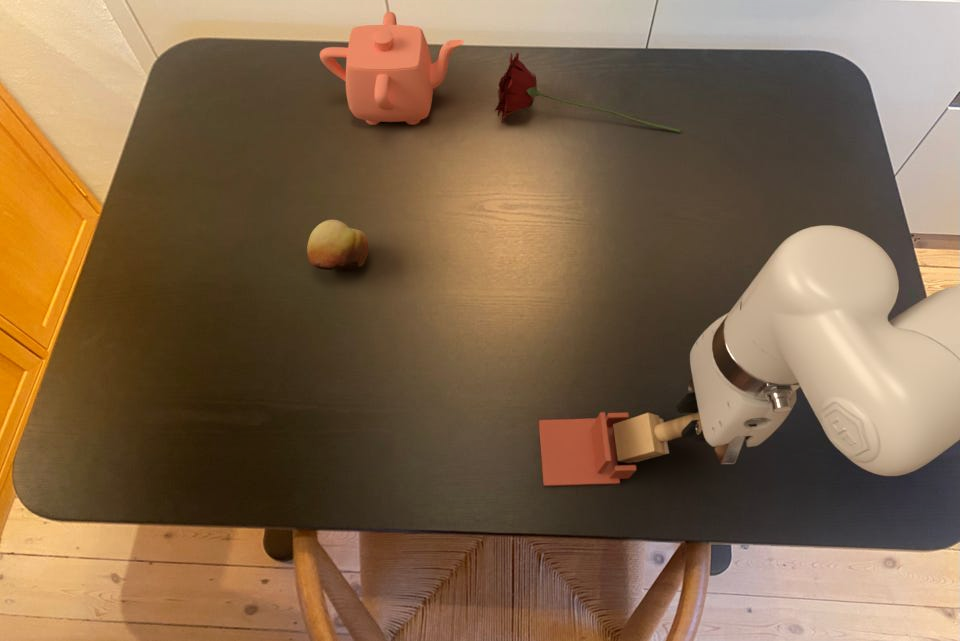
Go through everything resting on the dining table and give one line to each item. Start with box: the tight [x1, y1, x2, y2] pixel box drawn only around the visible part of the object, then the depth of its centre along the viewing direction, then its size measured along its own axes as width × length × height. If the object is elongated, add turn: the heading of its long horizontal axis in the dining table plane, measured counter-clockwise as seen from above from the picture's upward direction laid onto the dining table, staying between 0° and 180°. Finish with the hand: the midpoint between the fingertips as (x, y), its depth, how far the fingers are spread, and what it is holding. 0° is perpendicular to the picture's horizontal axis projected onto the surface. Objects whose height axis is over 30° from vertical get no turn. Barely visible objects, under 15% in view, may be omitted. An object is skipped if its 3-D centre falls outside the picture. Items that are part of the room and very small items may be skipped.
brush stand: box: [538, 411, 637, 487], centre depth 71 cm, size 10×8×7 cm
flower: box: [494, 51, 682, 133], centre depth 96 cm, size 11×10×30 cm
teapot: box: [319, 11, 465, 126], centre depth 94 cm, size 17×16×13 cm
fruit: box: [306, 219, 369, 272], centre depth 82 cm, size 8×8×8 cm
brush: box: [613, 412, 700, 464], centre depth 66 cm, size 15×4×3 cm
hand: (693, 421), depth 64 cm, fingers closed on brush, 2 cm apart
